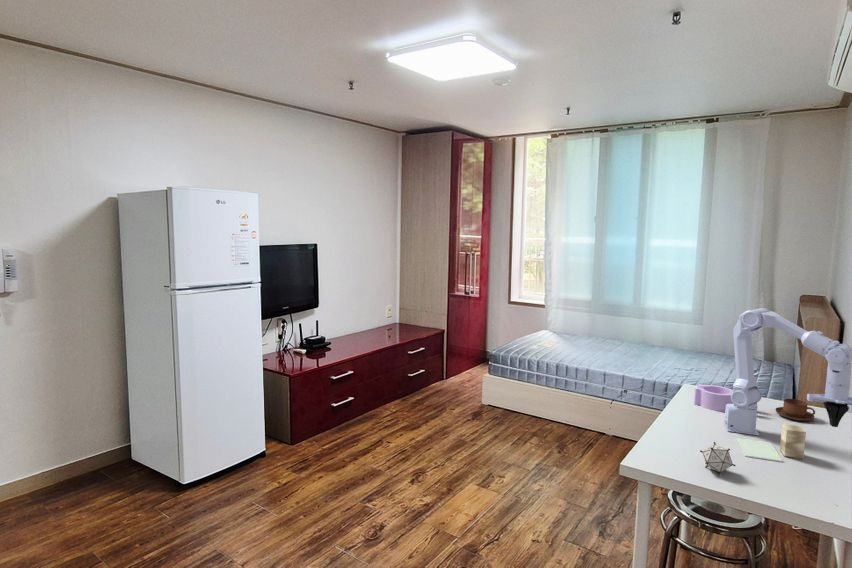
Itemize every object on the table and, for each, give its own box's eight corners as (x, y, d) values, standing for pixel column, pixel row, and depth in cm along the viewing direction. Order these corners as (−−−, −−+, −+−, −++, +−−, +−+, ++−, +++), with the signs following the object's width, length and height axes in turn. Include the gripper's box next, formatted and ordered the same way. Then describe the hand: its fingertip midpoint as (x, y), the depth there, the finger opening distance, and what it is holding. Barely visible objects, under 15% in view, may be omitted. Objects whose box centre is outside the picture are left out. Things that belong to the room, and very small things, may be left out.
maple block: (784, 457, 157) (786, 429, 156) (779, 450, 162) (782, 423, 161) (803, 459, 156) (806, 432, 154) (798, 453, 160) (800, 426, 159)
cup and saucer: (811, 415, 193) (812, 400, 192) (816, 426, 182) (817, 409, 182) (773, 409, 199) (775, 394, 198) (776, 419, 189) (778, 403, 188)
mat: (745, 456, 157) (745, 455, 157) (736, 439, 170) (736, 438, 170) (782, 462, 154) (782, 460, 154) (770, 443, 167) (770, 442, 167)
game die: (710, 479, 151) (704, 445, 155) (741, 478, 145) (734, 443, 150) (699, 473, 145) (694, 439, 150) (731, 472, 140) (724, 436, 145)
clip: (754, 409, 199) (755, 392, 198) (750, 418, 189) (752, 401, 188) (698, 398, 211) (699, 382, 211) (692, 406, 202) (693, 390, 201)
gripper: (814, 384, 153) (810, 427, 155) (873, 390, 148) (868, 434, 149) (806, 378, 160) (802, 419, 161) (862, 383, 154) (858, 425, 156)
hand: (833, 425), depth 156 cm, fingers closed
